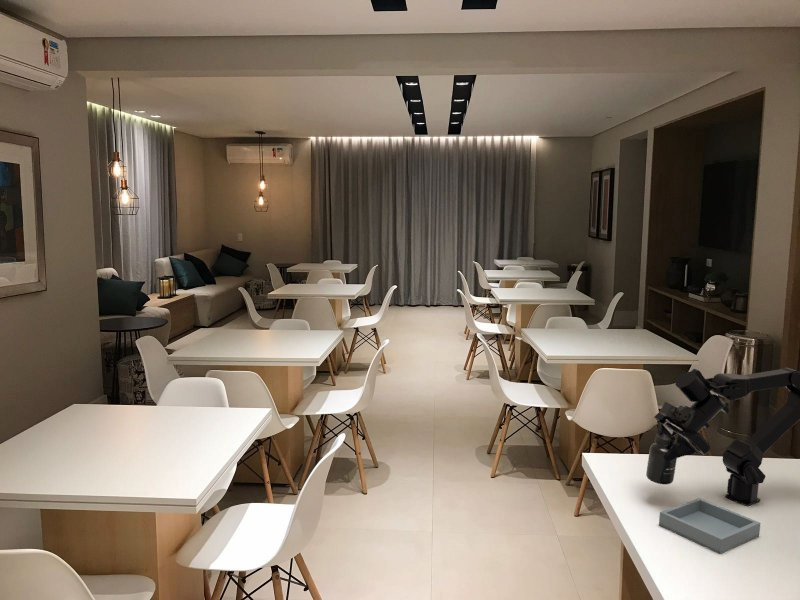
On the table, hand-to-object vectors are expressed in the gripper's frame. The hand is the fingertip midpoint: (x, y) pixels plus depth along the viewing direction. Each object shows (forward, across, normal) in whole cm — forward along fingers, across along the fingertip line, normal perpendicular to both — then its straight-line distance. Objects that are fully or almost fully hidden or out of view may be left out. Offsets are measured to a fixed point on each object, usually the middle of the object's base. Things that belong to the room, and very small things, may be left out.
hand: (658, 455), depth 176 cm
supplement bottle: (+4, -1, +6) cm, 7 cm away
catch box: (+6, +16, +13) cm, 21 cm away
